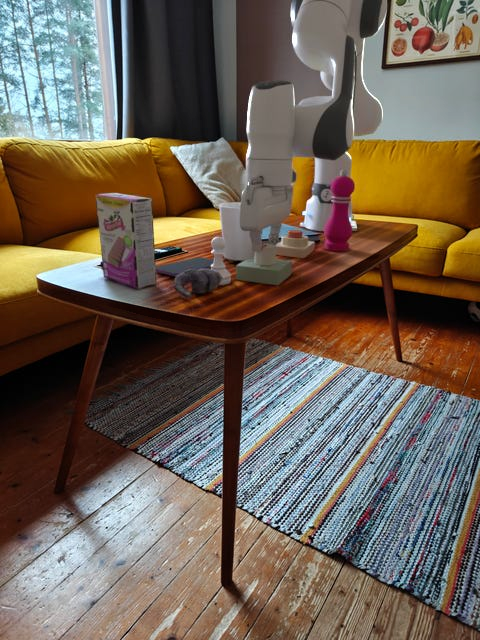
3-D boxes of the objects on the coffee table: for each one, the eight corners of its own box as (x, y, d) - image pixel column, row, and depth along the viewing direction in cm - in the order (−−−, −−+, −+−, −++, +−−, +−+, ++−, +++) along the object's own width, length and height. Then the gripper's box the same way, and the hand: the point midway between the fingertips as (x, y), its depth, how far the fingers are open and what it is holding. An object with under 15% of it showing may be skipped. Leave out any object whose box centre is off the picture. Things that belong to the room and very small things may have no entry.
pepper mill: (348, 246, 122) (357, 169, 115) (352, 252, 115) (361, 170, 108) (321, 245, 123) (328, 168, 115) (323, 251, 116) (330, 170, 109)
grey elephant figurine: (179, 306, 79) (220, 295, 86) (191, 288, 76) (233, 278, 82) (164, 283, 81) (205, 274, 88) (175, 264, 77) (217, 256, 84)
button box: (285, 246, 120) (285, 232, 119) (314, 250, 117) (315, 234, 116) (272, 254, 112) (273, 238, 110) (303, 258, 109) (305, 241, 107)
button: (290, 236, 115) (290, 229, 115) (303, 237, 114) (304, 230, 114) (285, 238, 112) (286, 231, 112) (299, 240, 111) (300, 233, 110)
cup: (227, 267, 100) (228, 208, 95) (213, 257, 108) (213, 203, 104) (268, 263, 103) (270, 207, 99) (251, 254, 112) (252, 201, 107)
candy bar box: (101, 278, 90) (93, 194, 84) (122, 273, 94) (116, 192, 88) (137, 290, 83) (130, 199, 77) (158, 284, 87) (153, 197, 81)
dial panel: (252, 269, 99) (252, 255, 98) (291, 274, 95) (292, 259, 94) (235, 279, 91) (236, 264, 90) (278, 285, 88) (278, 270, 87)
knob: (258, 259, 95) (259, 241, 93) (278, 261, 93) (279, 243, 92) (251, 263, 91) (251, 245, 90) (271, 266, 89) (272, 247, 88)
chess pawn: (207, 286, 87) (207, 239, 83) (204, 278, 91) (203, 234, 88) (233, 285, 88) (233, 239, 84) (228, 277, 92) (228, 234, 89)
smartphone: (223, 261, 101) (176, 273, 90) (223, 266, 102) (176, 279, 90) (199, 256, 105) (151, 267, 94) (199, 261, 106) (151, 272, 94)
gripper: (265, 179, 76) (262, 259, 81) (299, 173, 93) (295, 239, 98) (231, 177, 78) (230, 255, 83) (270, 172, 95) (267, 237, 100)
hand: (265, 247), depth 91 cm, fingers open, 8 cm apart
